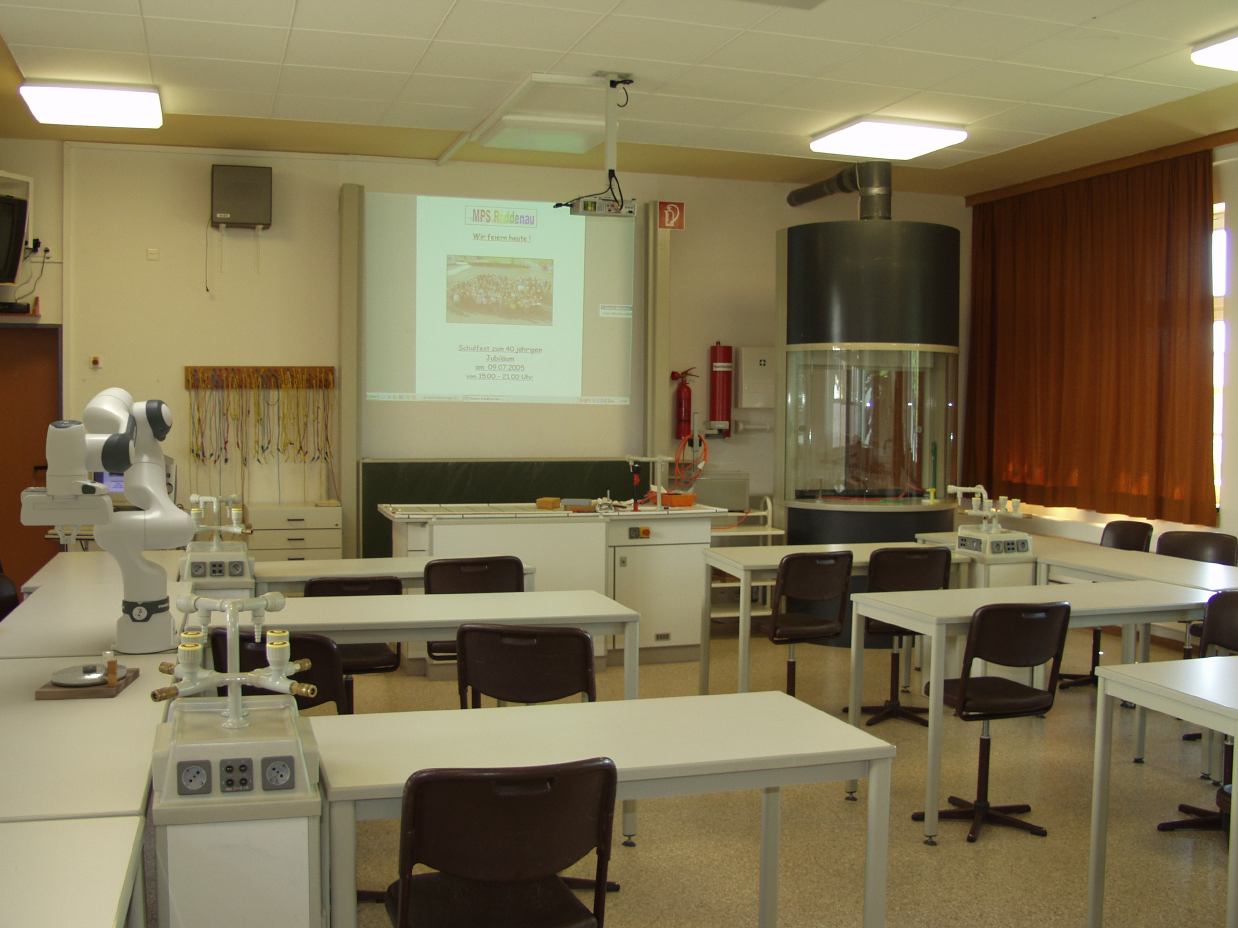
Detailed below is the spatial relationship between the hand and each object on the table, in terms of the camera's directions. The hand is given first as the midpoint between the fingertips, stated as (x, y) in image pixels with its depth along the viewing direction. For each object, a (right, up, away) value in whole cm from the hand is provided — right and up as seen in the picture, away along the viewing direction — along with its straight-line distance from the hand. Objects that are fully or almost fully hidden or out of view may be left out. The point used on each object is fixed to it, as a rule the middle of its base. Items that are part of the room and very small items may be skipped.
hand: (67, 543), depth 246 cm
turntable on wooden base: (+7, -34, -3) cm, 35 cm away
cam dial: (+7, -32, -3) cm, 33 cm away
